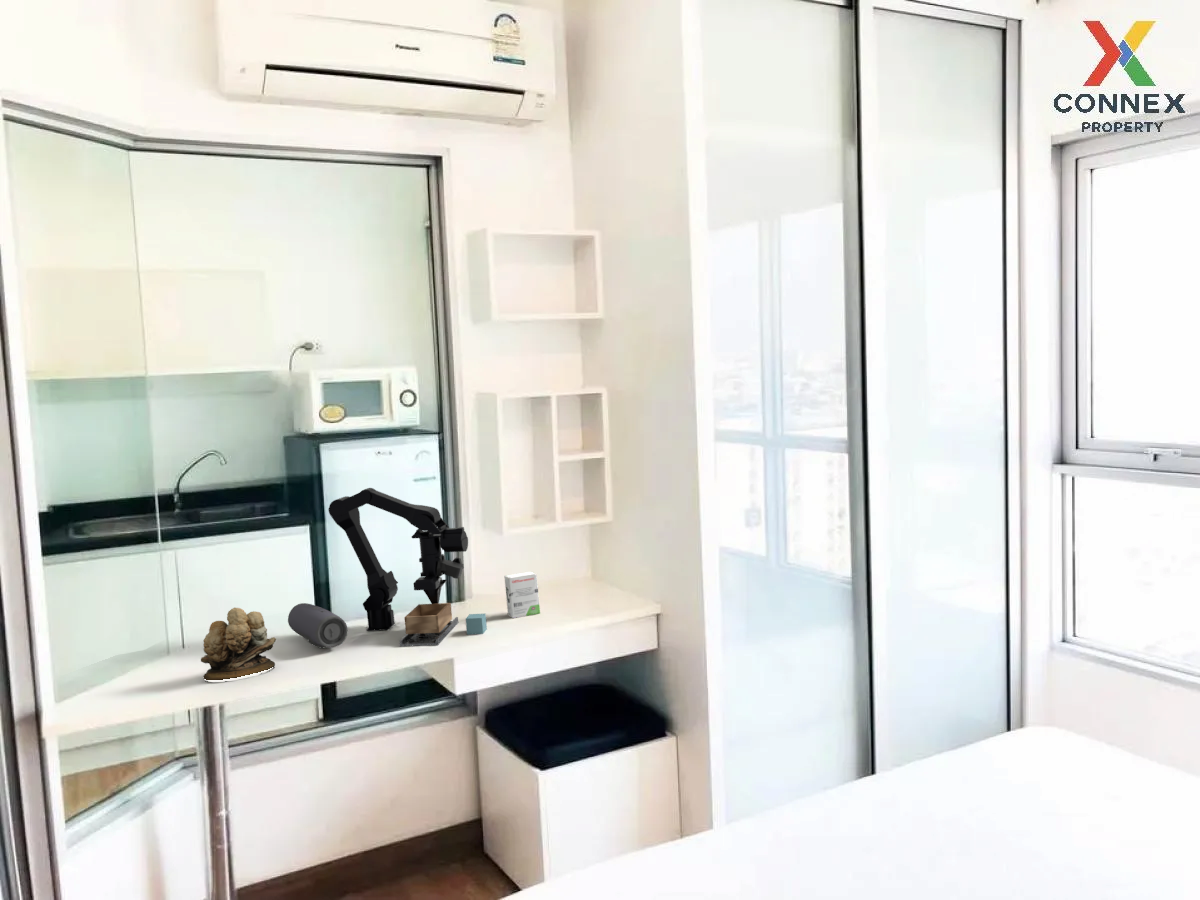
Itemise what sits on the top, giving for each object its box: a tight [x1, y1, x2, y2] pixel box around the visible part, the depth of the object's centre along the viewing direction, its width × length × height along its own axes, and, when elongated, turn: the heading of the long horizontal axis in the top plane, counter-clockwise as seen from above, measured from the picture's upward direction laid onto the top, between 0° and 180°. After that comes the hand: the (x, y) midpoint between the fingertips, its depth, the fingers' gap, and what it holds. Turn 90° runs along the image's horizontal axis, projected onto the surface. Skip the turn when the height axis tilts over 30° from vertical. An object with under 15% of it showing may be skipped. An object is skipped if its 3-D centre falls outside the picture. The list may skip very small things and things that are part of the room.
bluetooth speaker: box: [287, 602, 349, 649], centre depth 264 cm, size 23×9×10 cm, turn 37°
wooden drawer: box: [403, 602, 453, 637], centre depth 265 cm, size 9×13×6 cm
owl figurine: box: [200, 607, 277, 680], centre depth 242 cm, size 18×12×17 cm, turn 117°
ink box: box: [504, 571, 541, 619], centre depth 278 cm, size 9×5×12 cm, turn 112°
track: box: [399, 616, 459, 647], centre depth 265 cm, size 10×21×2 cm, turn 174°
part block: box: [465, 613, 488, 635], centre depth 264 cm, size 4×4×4 cm
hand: (436, 607), depth 272 cm, fingers closed
